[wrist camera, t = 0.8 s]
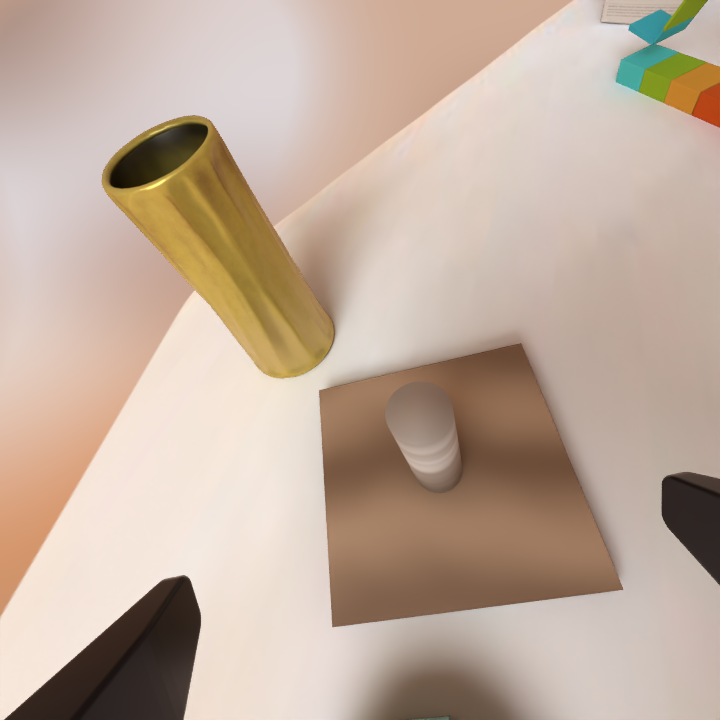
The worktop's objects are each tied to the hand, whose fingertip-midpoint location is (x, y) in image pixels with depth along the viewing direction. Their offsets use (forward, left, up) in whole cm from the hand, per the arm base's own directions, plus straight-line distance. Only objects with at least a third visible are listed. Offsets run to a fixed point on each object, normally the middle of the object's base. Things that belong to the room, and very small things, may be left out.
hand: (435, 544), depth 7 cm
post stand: (+5, 0, -13) cm, 14 cm away
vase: (+16, +8, -13) cm, 22 cm away
